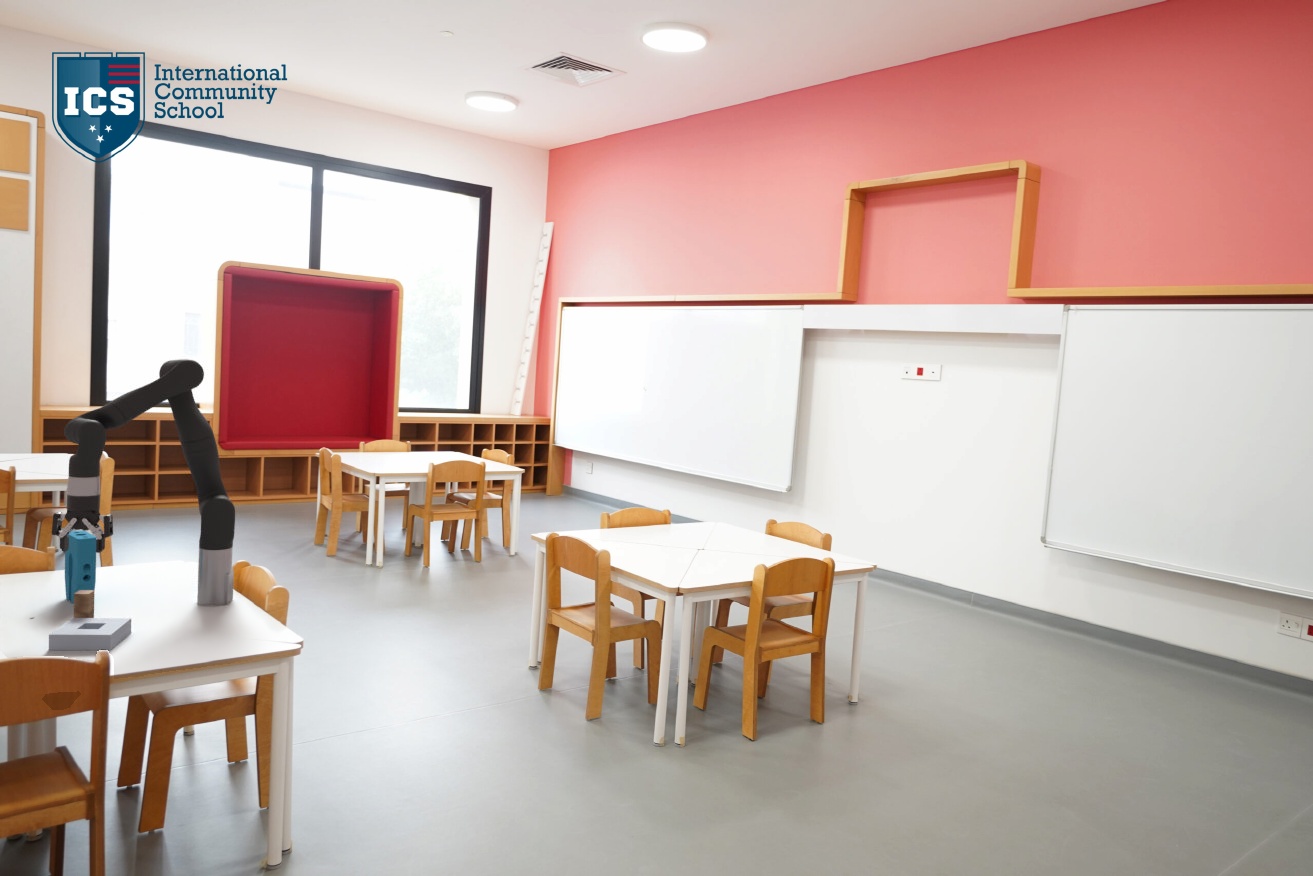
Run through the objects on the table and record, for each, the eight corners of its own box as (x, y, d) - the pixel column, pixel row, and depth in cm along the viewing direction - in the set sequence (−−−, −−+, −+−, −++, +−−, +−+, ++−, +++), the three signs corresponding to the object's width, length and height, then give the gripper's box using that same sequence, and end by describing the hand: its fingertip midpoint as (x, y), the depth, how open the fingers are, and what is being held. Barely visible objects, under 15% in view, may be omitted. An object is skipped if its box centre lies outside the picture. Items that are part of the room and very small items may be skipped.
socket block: (131, 632, 235) (131, 618, 234) (110, 650, 221) (110, 634, 221) (73, 632, 231) (73, 617, 231) (48, 650, 218) (48, 634, 218)
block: (96, 603, 256) (97, 537, 255) (76, 606, 253) (77, 539, 251) (82, 594, 264) (83, 530, 262) (63, 597, 260) (64, 531, 259)
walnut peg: (93, 626, 238) (94, 590, 237) (88, 630, 234) (88, 593, 233) (79, 625, 237) (79, 590, 236) (73, 630, 233) (74, 593, 233)
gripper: (118, 491, 239) (117, 549, 240) (62, 489, 236) (60, 547, 238) (105, 496, 231) (104, 555, 233) (47, 493, 229) (45, 553, 230)
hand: (82, 551), depth 235 cm, fingers open, 8 cm apart
